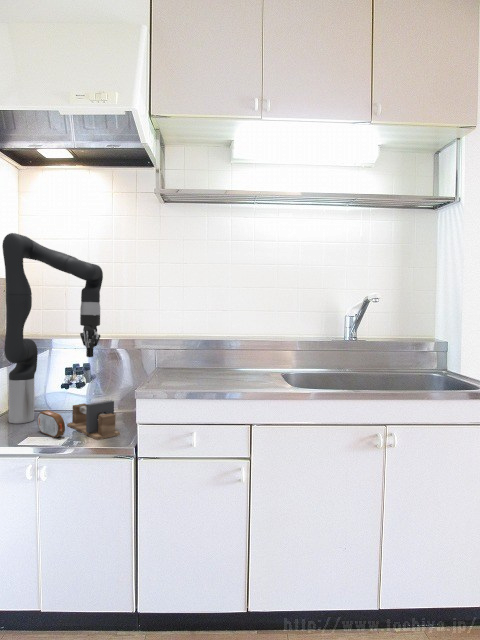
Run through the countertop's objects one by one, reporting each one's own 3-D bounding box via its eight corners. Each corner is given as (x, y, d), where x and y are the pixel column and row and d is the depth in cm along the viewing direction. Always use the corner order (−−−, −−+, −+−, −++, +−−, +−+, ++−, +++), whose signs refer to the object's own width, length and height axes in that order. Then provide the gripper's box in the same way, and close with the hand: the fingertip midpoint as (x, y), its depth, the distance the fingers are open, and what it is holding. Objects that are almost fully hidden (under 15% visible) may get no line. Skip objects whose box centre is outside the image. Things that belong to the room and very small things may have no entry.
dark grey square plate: (86, 431, 153) (86, 404, 153) (111, 426, 160) (111, 400, 160) (88, 432, 152) (89, 405, 152) (113, 427, 159) (114, 401, 159)
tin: (65, 438, 150) (66, 414, 150) (57, 440, 148) (57, 416, 148) (43, 430, 159) (44, 408, 159) (35, 432, 157) (35, 409, 157)
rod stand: (67, 425, 165) (67, 406, 165) (89, 421, 172) (89, 402, 172) (96, 440, 149) (97, 418, 148) (119, 434, 155) (120, 413, 155)
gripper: (73, 313, 169) (73, 356, 170) (89, 314, 160) (88, 359, 161) (91, 313, 175) (90, 354, 175) (107, 314, 165) (106, 358, 166)
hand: (89, 357), depth 168 cm, fingers closed
